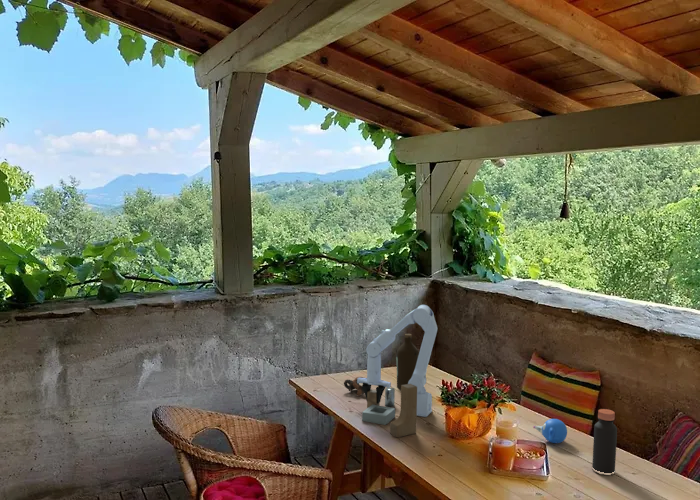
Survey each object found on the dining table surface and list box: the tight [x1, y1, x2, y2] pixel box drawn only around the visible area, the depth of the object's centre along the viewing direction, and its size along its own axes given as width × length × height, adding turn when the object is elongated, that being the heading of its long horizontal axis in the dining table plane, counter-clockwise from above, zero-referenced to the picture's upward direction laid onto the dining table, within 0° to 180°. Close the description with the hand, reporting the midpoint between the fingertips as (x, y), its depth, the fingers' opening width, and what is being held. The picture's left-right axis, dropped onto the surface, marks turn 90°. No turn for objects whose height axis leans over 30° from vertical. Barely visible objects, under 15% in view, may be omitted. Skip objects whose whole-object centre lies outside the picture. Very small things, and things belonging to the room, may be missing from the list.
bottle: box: [591, 408, 618, 473], centre depth 195 cm, size 7×7×20 cm
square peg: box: [366, 389, 381, 409], centre depth 252 cm, size 4×4×7 cm
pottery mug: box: [343, 376, 365, 397], centre depth 271 cm, size 12×10×8 cm
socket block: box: [361, 404, 396, 426], centre depth 240 cm, size 10×10×4 cm
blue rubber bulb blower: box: [532, 418, 568, 444], centre depth 220 cm, size 12×12×8 cm
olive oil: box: [395, 333, 420, 390], centre depth 280 cm, size 11×11×25 cm
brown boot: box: [389, 384, 417, 438], centre depth 224 cm, size 9×4×18 cm, turn 120°
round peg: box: [384, 387, 396, 408], centre depth 256 cm, size 4×4×7 cm
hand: (373, 401), depth 252 cm, fingers closed on square peg, 4 cm apart
